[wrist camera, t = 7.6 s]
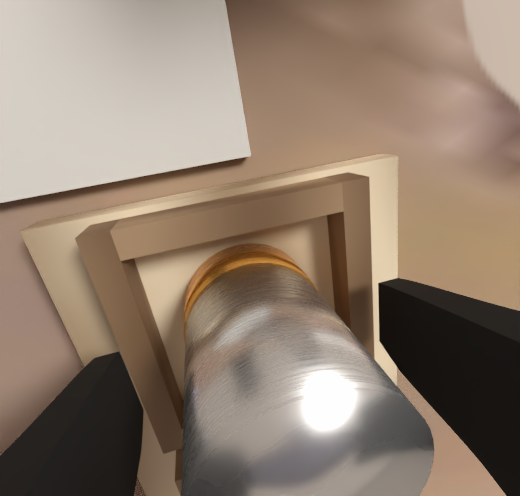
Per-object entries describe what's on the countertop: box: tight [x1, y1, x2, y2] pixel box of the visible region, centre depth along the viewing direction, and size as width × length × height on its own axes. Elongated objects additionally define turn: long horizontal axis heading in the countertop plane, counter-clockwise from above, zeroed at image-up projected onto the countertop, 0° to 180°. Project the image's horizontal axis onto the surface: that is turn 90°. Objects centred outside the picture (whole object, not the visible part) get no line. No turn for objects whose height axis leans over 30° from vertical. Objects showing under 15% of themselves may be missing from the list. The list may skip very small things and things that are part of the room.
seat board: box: [20, 154, 398, 496], centre depth 12 cm, size 11×17×2 cm, turn 9°
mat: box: [0, 0, 251, 203], centre depth 8 cm, size 8×6×1 cm
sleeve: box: [181, 243, 434, 496], centre depth 7 cm, size 4×4×6 cm
